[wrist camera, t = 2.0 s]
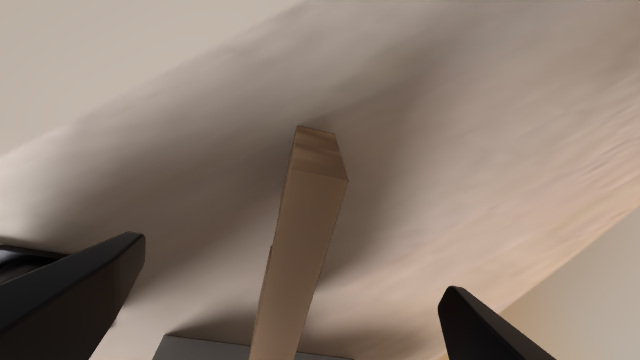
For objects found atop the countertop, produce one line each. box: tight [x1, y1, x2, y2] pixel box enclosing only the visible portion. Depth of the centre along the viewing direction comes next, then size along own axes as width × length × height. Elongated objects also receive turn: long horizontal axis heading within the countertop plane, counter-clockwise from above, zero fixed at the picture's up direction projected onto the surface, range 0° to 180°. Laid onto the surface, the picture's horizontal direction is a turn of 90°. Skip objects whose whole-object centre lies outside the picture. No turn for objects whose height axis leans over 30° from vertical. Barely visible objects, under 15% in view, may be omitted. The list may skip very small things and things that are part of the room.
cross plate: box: [248, 126, 348, 360], centre depth 16 cm, size 2×12×6 cm, turn 166°
